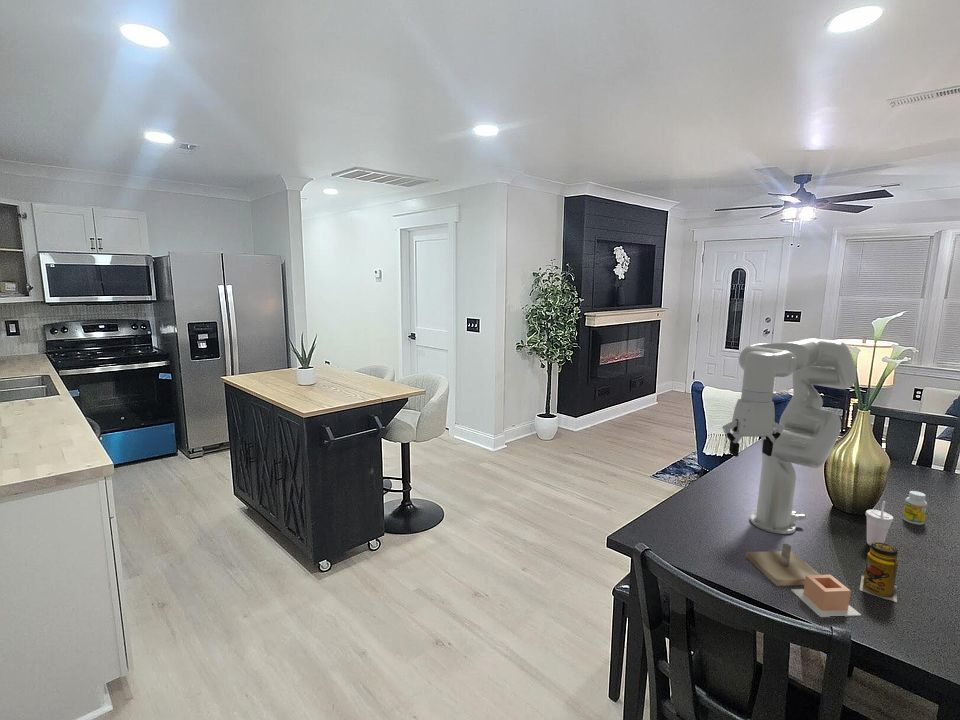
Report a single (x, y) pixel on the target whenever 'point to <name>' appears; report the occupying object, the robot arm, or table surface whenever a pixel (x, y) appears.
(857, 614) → the mat
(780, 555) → the stand
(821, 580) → the peach open box
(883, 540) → the smoothie
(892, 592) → the condiment
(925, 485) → the table surface
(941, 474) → the table surface
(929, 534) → the table surface
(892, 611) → the table surface
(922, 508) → the supplement bottle
